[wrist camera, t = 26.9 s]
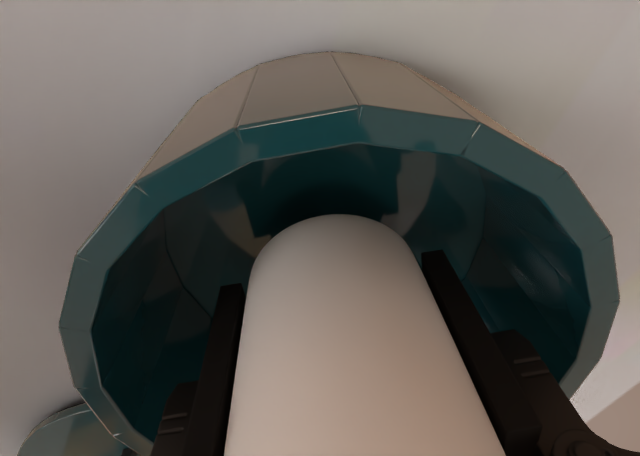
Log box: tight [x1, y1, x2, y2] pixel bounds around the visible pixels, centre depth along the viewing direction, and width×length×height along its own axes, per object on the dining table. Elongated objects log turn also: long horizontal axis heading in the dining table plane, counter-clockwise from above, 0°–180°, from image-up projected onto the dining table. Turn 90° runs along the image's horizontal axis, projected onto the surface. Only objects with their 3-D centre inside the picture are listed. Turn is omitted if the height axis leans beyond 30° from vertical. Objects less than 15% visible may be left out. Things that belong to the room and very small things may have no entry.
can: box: [224, 214, 506, 456], centre depth 10 cm, size 6×6×12 cm
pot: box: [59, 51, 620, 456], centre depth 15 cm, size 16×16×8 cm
